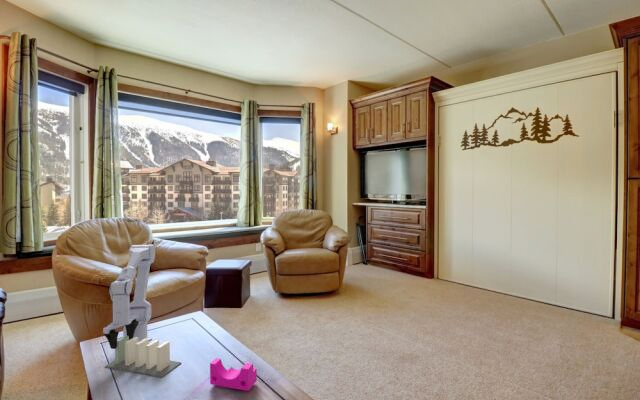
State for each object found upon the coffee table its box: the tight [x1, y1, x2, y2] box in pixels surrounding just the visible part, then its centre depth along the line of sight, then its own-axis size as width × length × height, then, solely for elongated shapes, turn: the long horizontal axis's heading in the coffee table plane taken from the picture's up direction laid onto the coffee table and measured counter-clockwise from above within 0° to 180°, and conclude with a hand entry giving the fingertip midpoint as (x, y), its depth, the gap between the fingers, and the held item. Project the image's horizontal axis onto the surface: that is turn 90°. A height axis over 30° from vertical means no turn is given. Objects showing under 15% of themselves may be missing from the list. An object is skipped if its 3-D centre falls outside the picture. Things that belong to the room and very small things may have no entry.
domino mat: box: [104, 360, 182, 378], centre depth 125 cm, size 27×10×1 cm, turn 75°
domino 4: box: [156, 341, 171, 371], centre depth 123 cm, size 2×5×9 cm, turn 164°
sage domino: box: [114, 336, 129, 364], centre depth 128 cm, size 2×5×9 cm, turn 164°
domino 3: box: [146, 339, 160, 369], centre depth 124 cm, size 2×5×9 cm, turn 164°
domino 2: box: [135, 338, 150, 368], centre depth 125 cm, size 2×5×9 cm, turn 164°
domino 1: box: [125, 337, 139, 366], centre depth 127 cm, size 2×5×9 cm, turn 165°
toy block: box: [209, 357, 258, 391], centre depth 114 cm, size 15×6×8 cm, turn 74°
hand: (121, 343), depth 128 cm, fingers open, 7 cm apart
